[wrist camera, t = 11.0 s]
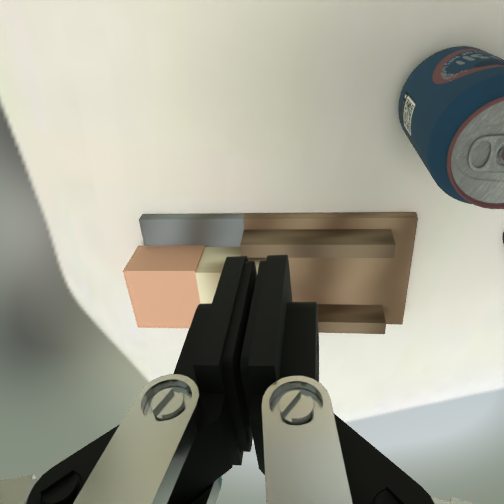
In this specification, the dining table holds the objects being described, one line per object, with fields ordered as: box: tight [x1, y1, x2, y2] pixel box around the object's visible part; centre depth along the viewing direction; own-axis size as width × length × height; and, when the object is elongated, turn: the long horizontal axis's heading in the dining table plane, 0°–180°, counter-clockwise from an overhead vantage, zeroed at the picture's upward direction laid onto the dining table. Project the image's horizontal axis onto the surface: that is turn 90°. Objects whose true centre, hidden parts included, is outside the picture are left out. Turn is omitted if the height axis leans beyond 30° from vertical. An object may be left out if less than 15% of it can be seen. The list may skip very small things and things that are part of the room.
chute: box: [139, 212, 418, 334], centre depth 39 cm, size 23×11×4 cm, turn 94°
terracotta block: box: [123, 245, 205, 328], centre depth 39 cm, size 6×6×4 cm
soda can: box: [399, 47, 504, 209], centre depth 27 cm, size 7×7×12 cm
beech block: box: [195, 247, 267, 304], centre depth 39 cm, size 6×6×4 cm
